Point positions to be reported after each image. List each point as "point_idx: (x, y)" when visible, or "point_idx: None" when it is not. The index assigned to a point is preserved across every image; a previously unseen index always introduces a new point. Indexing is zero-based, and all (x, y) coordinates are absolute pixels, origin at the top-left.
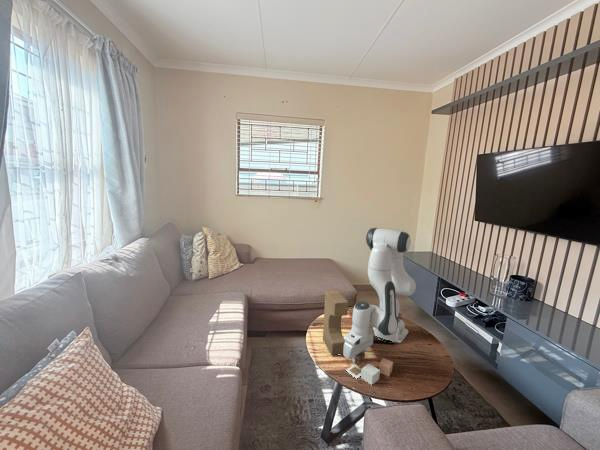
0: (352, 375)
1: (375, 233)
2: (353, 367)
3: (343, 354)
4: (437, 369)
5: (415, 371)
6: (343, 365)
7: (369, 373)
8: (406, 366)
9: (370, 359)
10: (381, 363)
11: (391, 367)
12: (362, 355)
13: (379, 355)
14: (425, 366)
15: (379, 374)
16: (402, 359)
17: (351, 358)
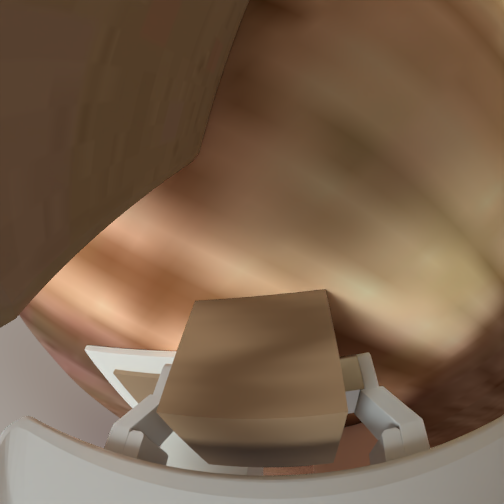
0: (120, 393)
1: None
2: (157, 377)
3: (7, 430)
4: None
5: (437, 439)
6: (92, 302)
7: None
8: (452, 424)
9: (401, 363)
10: None
11: None
12: (273, 463)
13: (483, 348)
14: (480, 424)
15: (262, 474)
16: (492, 393)
17: (188, 338)
